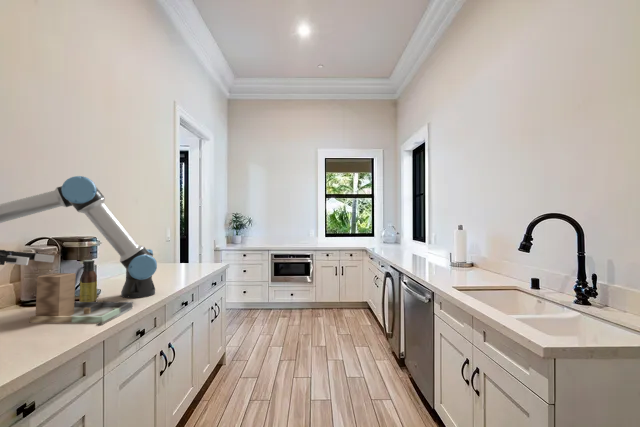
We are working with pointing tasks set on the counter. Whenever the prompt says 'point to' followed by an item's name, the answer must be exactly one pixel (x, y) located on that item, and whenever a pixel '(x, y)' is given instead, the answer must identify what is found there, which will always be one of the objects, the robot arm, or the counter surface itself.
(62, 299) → the walnut block
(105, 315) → the bay end wall
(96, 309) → the grey flat tray
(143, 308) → the counter surface
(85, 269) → the sauce bottle
